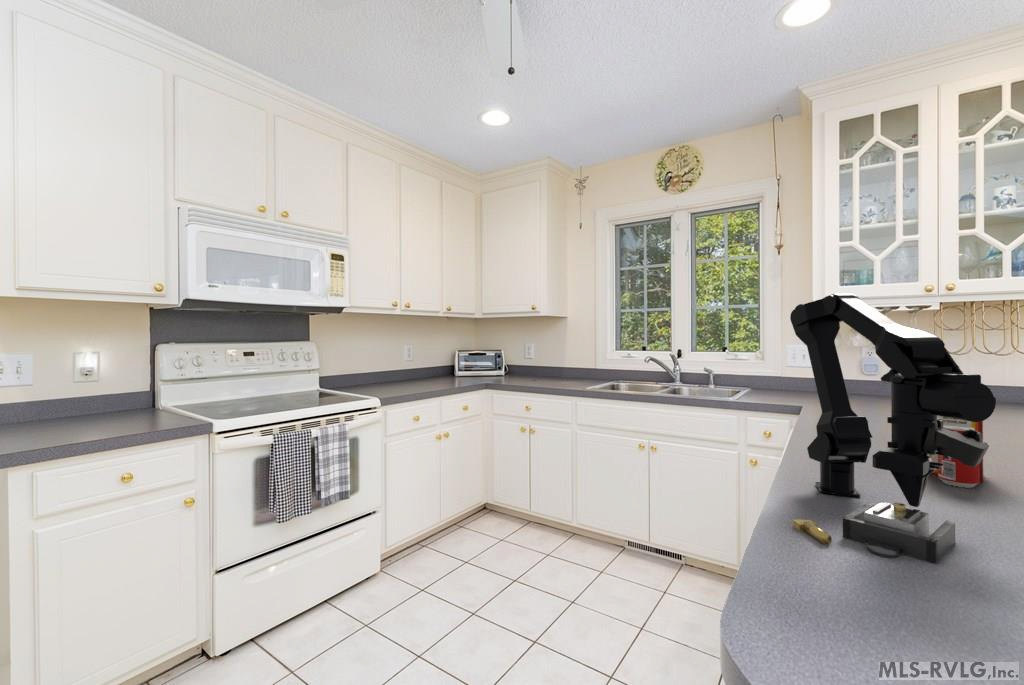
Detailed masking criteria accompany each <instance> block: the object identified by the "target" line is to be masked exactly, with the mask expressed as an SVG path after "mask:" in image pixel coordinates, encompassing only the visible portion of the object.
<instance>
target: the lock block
mask: <svg viewBox="0 0 1024 685" xmlns="http://www.w3.org/2000/svg"><path fill="white" fill-rule="evenodd" d="M864 521H865V522H869V523H873V524H877V525H881V526H884V527H888V528H892V529H896V530H900V531H904V532H908V533H912V534H916V535H920V536H924V537H929V536H930V514H929V513H928V512H924V511H921V510H920V509H915V508H913V509H911V508H906V504H904V503H901V502H894V503H893V504H892V503H890V502H884V503H883V502H879V503H877V504H876V505H875V506H874V507H872V508H871V509H869V510H867V511H866V512H864Z"/></svg>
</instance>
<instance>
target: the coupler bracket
mask: <svg viewBox="0 0 1024 685" xmlns="http://www.w3.org/2000/svg"><path fill="white" fill-rule="evenodd" d="M874 506H876V505H875V503H872V502H871V503H870V502H866V503H865V504H863V505H861V506H859V507H858V508H856V509H855V510H853V511H851V512H849V513H848V514H846V515H845V516H843V517H842V538H845V539H848V540H852V541H856V542H859V543H863V544H866V545H867V551H868V552H870V553H871V554H874V555H876V556H878V557H882V558H887V559H888V558H889V559H897V558H899V557H900V555H904V556H907V557H911V558H915V559H918V560H922V561H925V562H928V563H932V564H937V563H938V562H939V561H940V560H941V558H943V556H944V555H945V554H947V552H948V551H949V550H950V549H951V548H952V547H953V546H954V544H956V522H955V521H950V520H945V521H944V522H943V523H942V524H941V525H940V526H939V527H938V528H936V530H935V531H934V532H932V533H931V534H929V537H924V536H920V535H916V534H912V533H908V532H904V531H900V530H896V529H892V528H888V527H884V526H881V525H877V524H873V523H869V522H865V521H864V512H866V511H867V510H869V509H871V508H872V507H874Z"/></svg>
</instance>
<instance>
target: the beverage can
mask: <svg viewBox="0 0 1024 685" xmlns="http://www.w3.org/2000/svg"><path fill="white" fill-rule="evenodd" d="M943 428H945V429H947V430H950V431H953V432H954V431H956V432H958V433H959V434H961V433H963V432H964V431H966V430H968V429H972V430H975V429H974V428H972V427H967V426H959V425H943ZM938 463H941V464H943V466H942V467H940V468H939V469H938V476H937V477H938V479H939V480H940V481H942V483H943V484H946V485H948V486H951V485H953V486H952V487H956V486H958V487H957V488H963V487H964V489H965V488H966V489H967V488H969V489H972V488H975V486H977V485H979V484H980V483H981V482H980V469H979V464H978V465H977V466H976V467H971V466H968V465H965V464H963V463H961V461H959V460H956V459H954V458H952V457H951V458H950V459H945V458H944V456H943V455H938Z"/></svg>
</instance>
